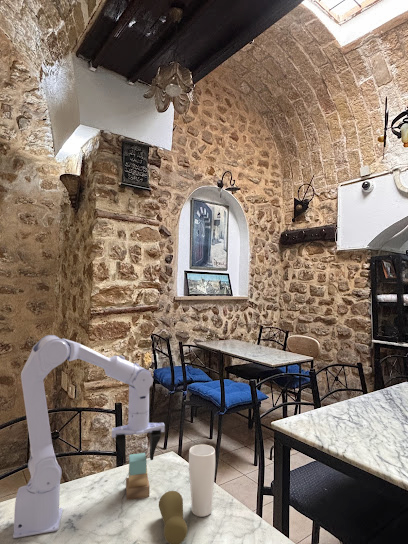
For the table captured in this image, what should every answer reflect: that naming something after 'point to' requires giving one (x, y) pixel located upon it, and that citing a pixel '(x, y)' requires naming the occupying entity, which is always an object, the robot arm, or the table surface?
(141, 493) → the tower base
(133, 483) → the tower mid
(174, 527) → the olive rounded piece
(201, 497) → the drinking glass
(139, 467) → the teal block
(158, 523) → the table surface
